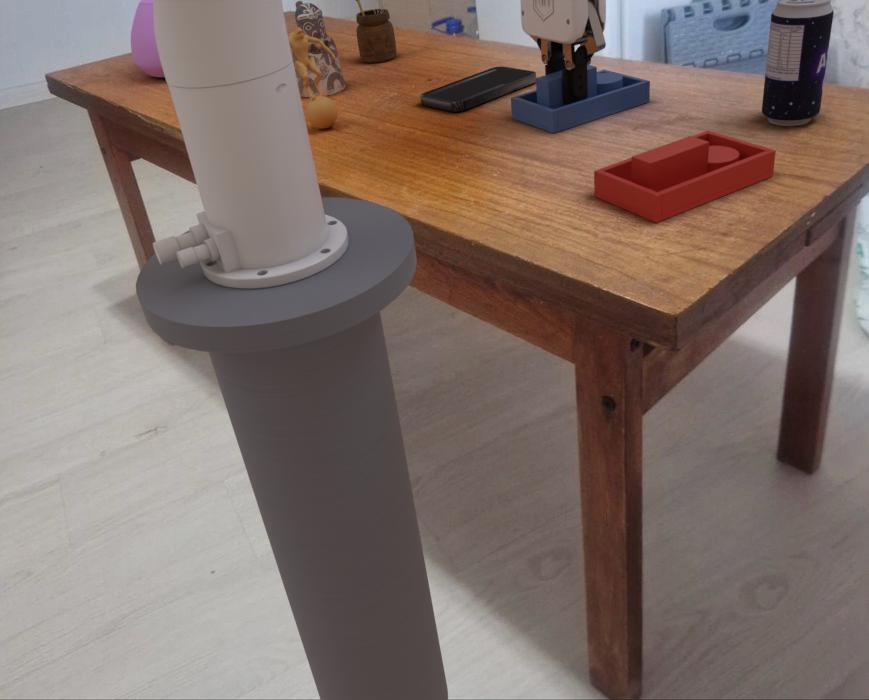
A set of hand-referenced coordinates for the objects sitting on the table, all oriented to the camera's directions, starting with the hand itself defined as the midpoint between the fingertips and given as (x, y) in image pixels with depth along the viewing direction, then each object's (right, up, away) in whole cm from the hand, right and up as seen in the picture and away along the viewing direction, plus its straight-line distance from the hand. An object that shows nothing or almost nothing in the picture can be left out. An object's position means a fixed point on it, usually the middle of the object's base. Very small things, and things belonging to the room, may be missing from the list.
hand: (566, 97), depth 96 cm
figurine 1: (-32, +8, +23) cm, 40 cm away
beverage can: (+22, -5, -9) cm, 24 cm away
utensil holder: (-25, +17, +35) cm, 46 cm away
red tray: (+7, -14, -20) cm, 26 cm away
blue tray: (+2, -1, +2) cm, 3 cm away
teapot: (-56, +20, +46) cm, 75 cm away
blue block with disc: (+2, 0, +1) cm, 2 cm away
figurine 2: (-30, -1, +9) cm, 31 cm away
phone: (-10, +4, +12) cm, 16 cm away
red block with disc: (+8, -14, -20) cm, 26 cm away
